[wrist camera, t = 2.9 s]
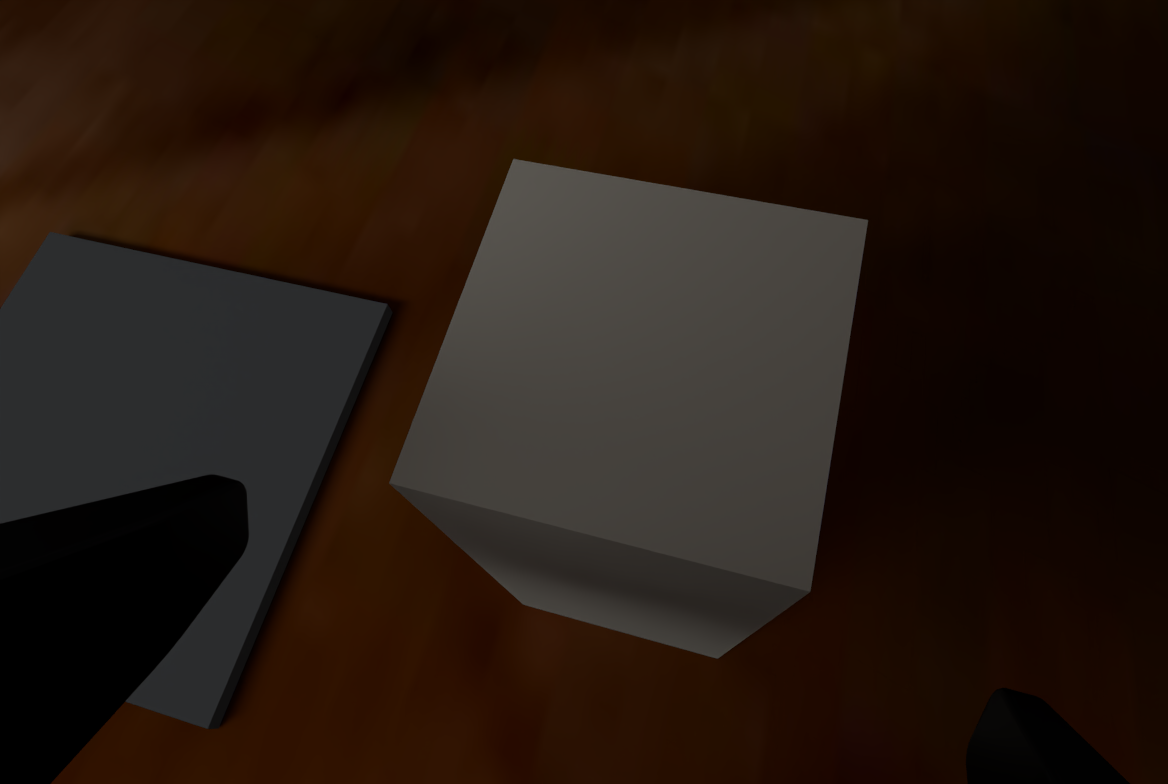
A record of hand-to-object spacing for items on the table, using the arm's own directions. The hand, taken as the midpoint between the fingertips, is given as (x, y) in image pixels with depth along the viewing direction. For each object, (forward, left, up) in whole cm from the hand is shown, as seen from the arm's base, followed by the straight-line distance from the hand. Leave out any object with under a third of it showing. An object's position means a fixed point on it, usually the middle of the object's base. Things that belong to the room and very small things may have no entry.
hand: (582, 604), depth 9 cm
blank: (+2, -3, -10) cm, 11 cm away
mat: (+14, +6, -10) cm, 18 cm away
